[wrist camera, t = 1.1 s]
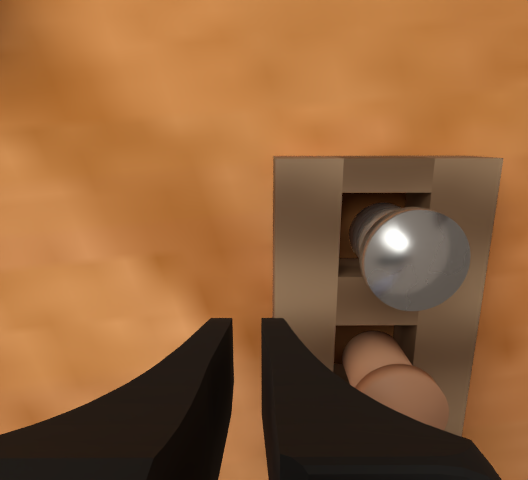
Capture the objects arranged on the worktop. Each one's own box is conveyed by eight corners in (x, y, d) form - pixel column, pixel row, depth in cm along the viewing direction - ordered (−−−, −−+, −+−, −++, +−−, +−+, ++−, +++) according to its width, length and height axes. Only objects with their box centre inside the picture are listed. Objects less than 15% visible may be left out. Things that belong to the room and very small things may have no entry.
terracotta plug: (405, 389, 20) (443, 456, 16) (332, 389, 20) (351, 456, 16) (411, 323, 19) (454, 375, 15) (336, 323, 19) (357, 375, 15)
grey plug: (417, 272, 19) (463, 311, 14) (338, 272, 19) (361, 311, 14) (425, 193, 18) (477, 210, 13) (342, 193, 18) (367, 210, 13)
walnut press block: (427, 473, 25) (449, 518, 22) (272, 474, 25) (273, 518, 22) (467, 155, 20) (503, 158, 17) (273, 156, 20) (275, 158, 17)
